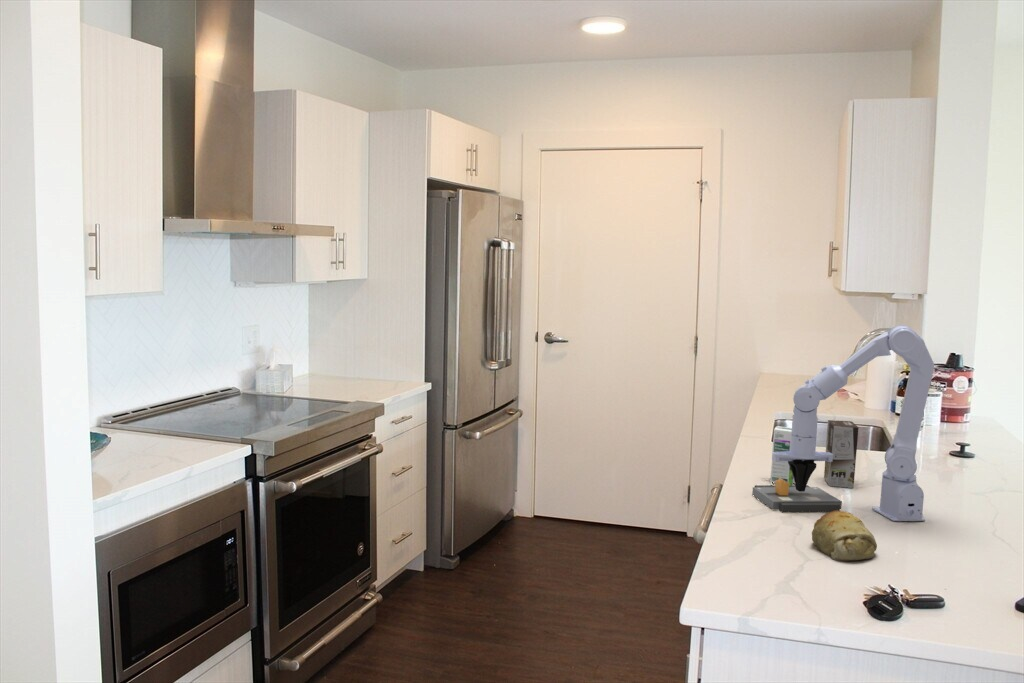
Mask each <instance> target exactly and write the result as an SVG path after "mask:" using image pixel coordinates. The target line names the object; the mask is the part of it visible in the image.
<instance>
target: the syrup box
mask: <svg viewBox="0 0 1024 683" xmlns="http://www.w3.org/2000/svg"><path fill="white" fill-rule="evenodd" d="M791 433H792V427H789V426H788V427H787V426H781V425H780V426H779V425H777V426H775V427H774V429H773V437H772V452H784V451H790V449H791ZM770 469H771V471H770V478H769V479H770V483H771V482H774V483H773V484H775V483H776V480H779V478H781V479H783V480H785V481H786V482H788V483H789V485H794V484H795V481H794V477H793V473H792V471H791V468H790V466H789V464H788V461H779V462H775V461H773V460H772V459H771V468H770ZM793 483H794V484H793Z"/></svg>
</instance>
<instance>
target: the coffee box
mask: <svg viewBox="0 0 1024 683" xmlns="http://www.w3.org/2000/svg"><path fill="white" fill-rule="evenodd" d="M859 429H860V427H859V426H857V424H855V423H854V422H853V421H850V420H849V421H848V420H830V419H829V420H827V428H826V442H825V444H826V445H825V452H829V453H832V454H833V461H832V462H828V461H824V472H823V473H824V474H823V479H824V480H825V481H826V483H827V484H828V486H829V487H837V488H838V487H839V488H846V487H848V489H854V486H855V475H856V464H857V463H856V462H857V449H858V440H859Z"/></svg>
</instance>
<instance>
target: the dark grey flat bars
mask: <svg viewBox="0 0 1024 683" xmlns="http://www.w3.org/2000/svg"><path fill="white" fill-rule="evenodd" d="M754 487H775V485H774V484H773V485H768V484H767V485H766V484H765V485H761V484H760V485H757V484H756V485H754ZM789 487H795V484H793V485H789ZM806 487H810V486H809V485H808V484H807V485H806ZM835 510H838V511H841V510H840V504H838V503H780V508H779V510H778V511H780V512H781V511H782V512H781V513H783V512H799V513H829V512H832V511H835Z"/></svg>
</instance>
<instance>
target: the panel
mask: <svg viewBox="0 0 1024 683" xmlns="http://www.w3.org/2000/svg"><path fill="white" fill-rule="evenodd" d="M751 495H752V496H753V495H754V496H755V497H756V498H755V497H754V496H753V497H754V498H755V499H757V498H758V499H759V500H758V499H757V500H758V501H760V502H761V501H762V502H763V503H762V502H761V503H762V504H764V505H765V504H766V505H765V506H766V507H768V506H769V507H770V508H769V507H768V508H769V509H771V510H772V509H773V510H772V511H780V510H779V508H780V503H838V504H840V509H841V510H842V504H843V503H842V502H843V501H842V500H840V499H839V498H837V497H835V496H833V495H832V494H830V493H828V492H827V491H825V490H823V489H821V488H820V487H818V486H816V487H815V486H809V487H806V488H805V491H798V490H796V487H789V491H788V495H779V494H777V493H776V492H775V487H755V486H753V487H752V494H751Z"/></svg>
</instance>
